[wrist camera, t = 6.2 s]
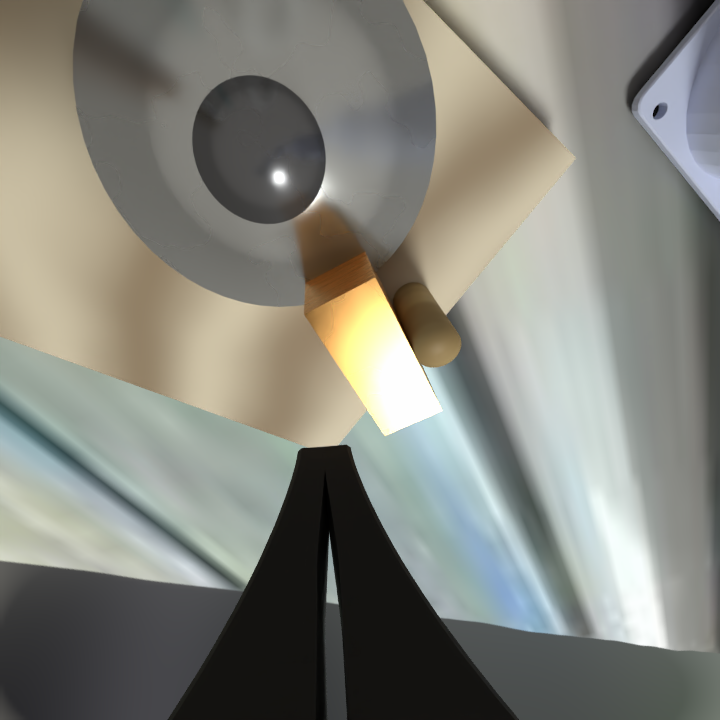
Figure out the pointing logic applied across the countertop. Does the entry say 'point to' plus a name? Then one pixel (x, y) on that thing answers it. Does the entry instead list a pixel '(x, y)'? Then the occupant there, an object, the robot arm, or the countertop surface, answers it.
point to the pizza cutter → (271, 159)
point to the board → (210, 310)
